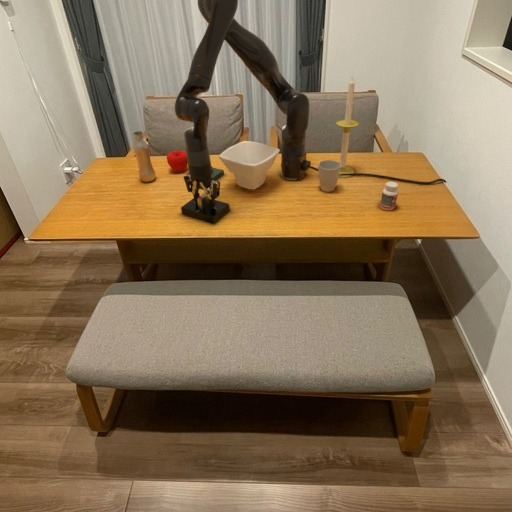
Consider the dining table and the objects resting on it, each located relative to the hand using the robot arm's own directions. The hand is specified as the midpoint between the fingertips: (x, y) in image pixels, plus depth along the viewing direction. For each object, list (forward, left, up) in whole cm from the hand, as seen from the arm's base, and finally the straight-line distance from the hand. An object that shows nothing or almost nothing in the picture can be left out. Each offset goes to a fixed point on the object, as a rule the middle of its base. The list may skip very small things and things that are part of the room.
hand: (205, 204), depth 137 cm
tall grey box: (0, 0, 0) cm, 0 cm away
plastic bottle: (+37, -10, -3) cm, 39 cm away
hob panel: (0, 0, -3) cm, 3 cm away
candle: (-32, -52, -3) cm, 61 cm away
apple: (+31, -23, -3) cm, 39 cm away
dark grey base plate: (+17, -23, -3) cm, 29 cm away
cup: (-32, -36, -3) cm, 48 cm away
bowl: (-4, -25, -3) cm, 26 cm away
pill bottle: (-56, -33, -3) cm, 65 cm away
